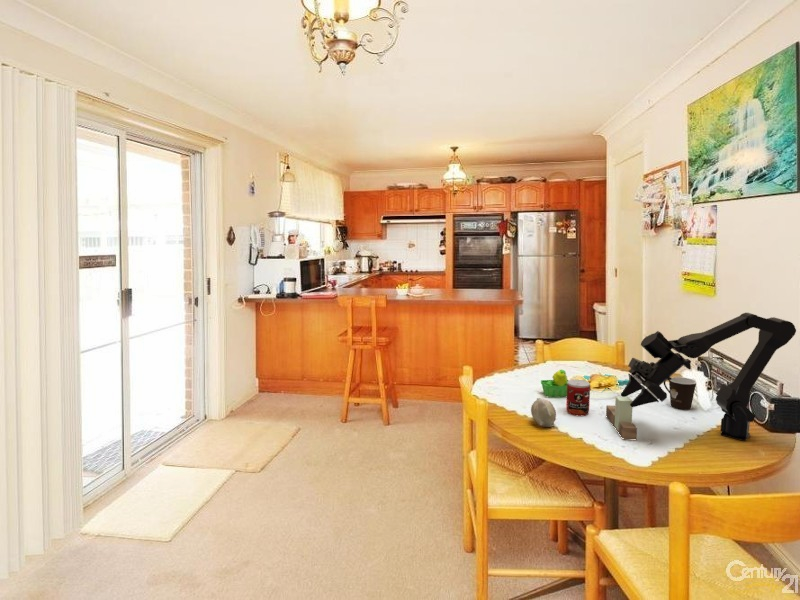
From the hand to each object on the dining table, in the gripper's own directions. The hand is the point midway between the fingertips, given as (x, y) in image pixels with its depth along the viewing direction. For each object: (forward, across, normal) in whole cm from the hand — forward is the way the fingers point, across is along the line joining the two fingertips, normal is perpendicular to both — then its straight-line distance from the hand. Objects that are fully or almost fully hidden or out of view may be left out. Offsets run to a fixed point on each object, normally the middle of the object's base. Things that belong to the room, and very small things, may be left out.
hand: (626, 400), depth 153 cm
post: (+7, 0, +6) cm, 9 cm away
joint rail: (+8, -2, +7) cm, 10 cm away
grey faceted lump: (+25, -3, -11) cm, 27 cm away
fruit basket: (+18, -32, -4) cm, 37 cm away
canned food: (+15, -15, -1) cm, 22 cm away
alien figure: (+3, -47, +12) cm, 49 cm away
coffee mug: (-11, -26, +26) cm, 38 cm away
